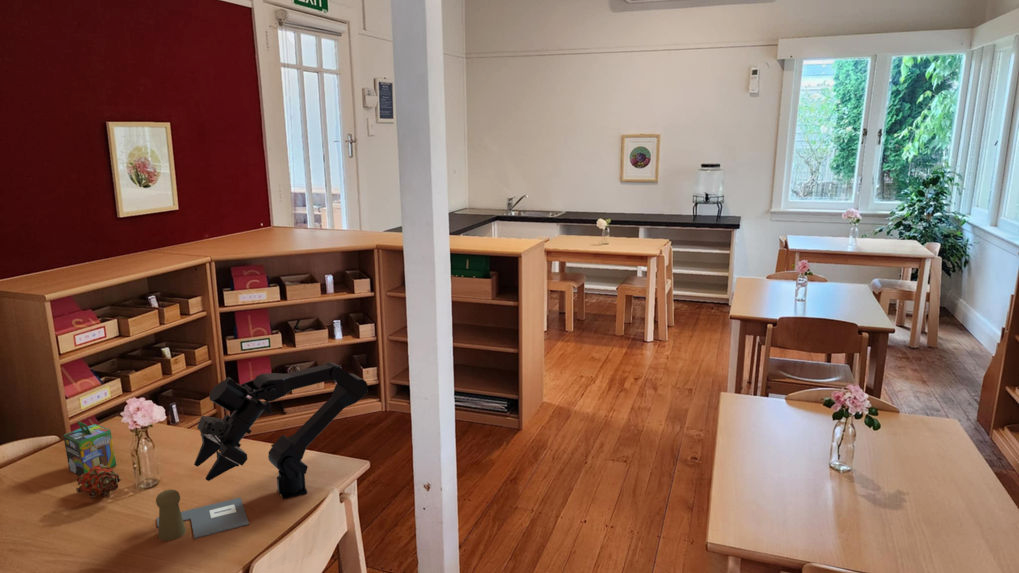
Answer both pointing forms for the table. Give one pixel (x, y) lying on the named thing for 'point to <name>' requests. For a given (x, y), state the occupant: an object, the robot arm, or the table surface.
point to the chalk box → (89, 448)
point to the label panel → (215, 517)
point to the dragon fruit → (98, 481)
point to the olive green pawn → (170, 515)
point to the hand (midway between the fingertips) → (201, 472)
